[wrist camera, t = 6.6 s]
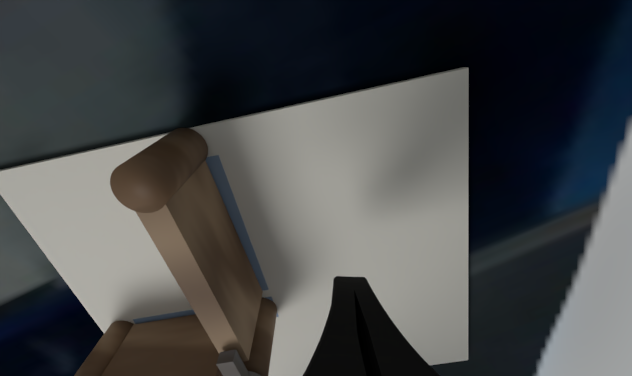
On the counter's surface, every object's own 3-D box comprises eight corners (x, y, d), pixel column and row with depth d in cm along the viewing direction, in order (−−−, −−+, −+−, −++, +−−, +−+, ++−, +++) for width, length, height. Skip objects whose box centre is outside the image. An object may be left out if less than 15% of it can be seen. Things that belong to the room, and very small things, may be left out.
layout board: (465, 354, 22) (468, 360, 22) (158, 398, 25) (155, 403, 24) (464, 66, 14) (469, 67, 13) (-7, 171, 16) (-15, 174, 16)
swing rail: (280, 317, 20) (269, 406, 15) (251, 323, 20) (231, 412, 15) (198, 123, 14) (139, 165, 10) (158, 133, 15) (81, 179, 10)
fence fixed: (280, 317, 20) (271, 390, 16) (118, 343, 21) (70, 418, 17) (272, 294, 19) (260, 366, 15) (104, 322, 20) (49, 396, 16)
